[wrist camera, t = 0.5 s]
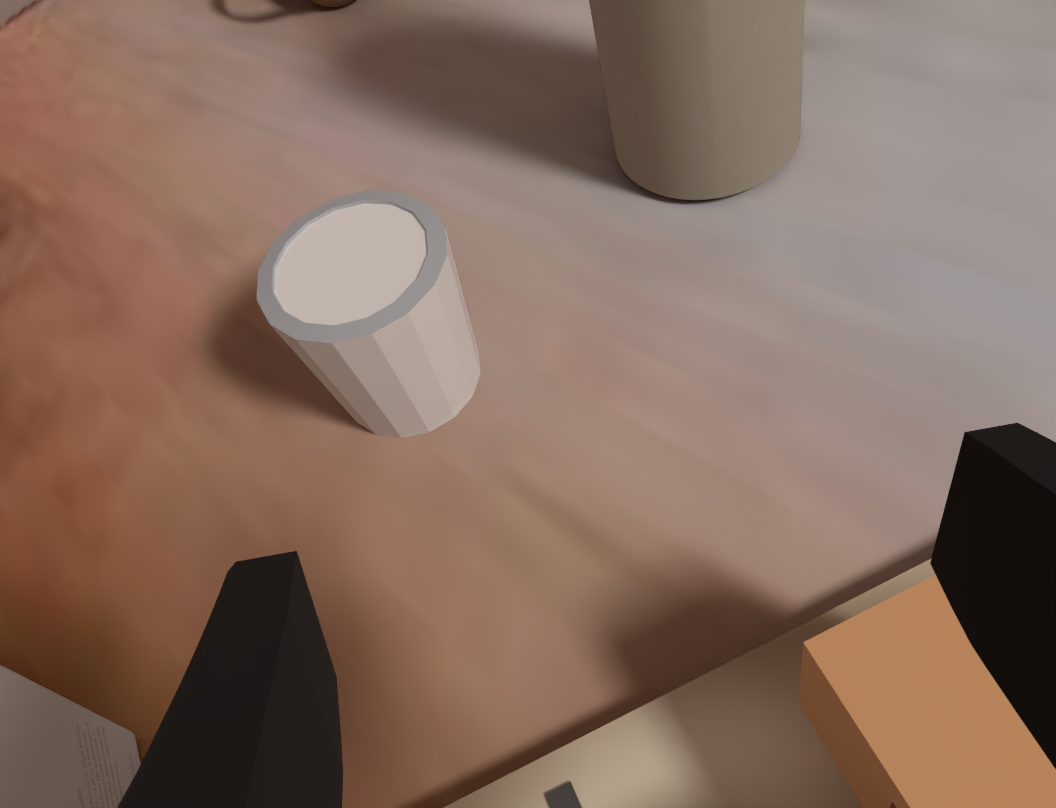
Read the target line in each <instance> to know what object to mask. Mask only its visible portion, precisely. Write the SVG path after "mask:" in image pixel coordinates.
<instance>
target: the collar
mask: <svg viewBox="0 0 1056 808" xmlns="http://www.w3.org/2000/svg"><path fill="white" fill-rule="evenodd" d="M799 705H800V706H801V708H802V710H803V711H804V713H805V714H806V716H807V718H808V719H809V721H810V723H811V724H812V726H813V727H814V729H815V731H816V732H817V734H818V736H819V737H820V739H821V740H822V742H823V744H824V745H825V747H826V749H827V750H828V752H829V753H830V755H831V757H832V758H833V760H834V762H835V763H836V765H837V766H838V768H839V770H840V771H841V773H842V775H843V776H844V778H845V779H846V781H847V783H848V784H849V786H850V788H851V789H852V791H853V792H854V794H855V796H856V797H857V799H858V801H859V802H860V804H861V805H862V807H863V808H1056V769H1055V768H1054V766H1053V765H1052V763H1051V762H1050V760H1049V759H1048V758H1047V756H1046V755H1045V753H1044V752H1043V750H1042V749H1041V747H1040V746H1039V745H1038V743H1037V742H1036V740H1035V739H1034V737H1033V736H1032V734H1031V733H1030V731H1029V730H1028V729H1027V727H1026V726H1025V724H1024V723H1023V721H1022V720H1021V718H1020V717H1019V715H1018V714H1017V713H1016V711H1015V710H1014V708H1013V707H1012V705H1011V704H1010V702H1009V701H1008V699H1007V698H1006V696H1005V695H1004V693H1003V692H1002V690H1001V689H1000V687H999V686H998V684H997V683H996V681H995V680H994V678H993V677H992V676H991V674H990V673H989V671H988V670H987V668H986V667H985V665H984V664H983V662H982V661H981V659H980V657H979V656H978V654H977V653H976V651H975V650H974V648H973V647H972V645H971V643H970V642H969V640H968V638H967V636H966V634H965V632H964V630H963V628H962V626H961V625H960V623H959V621H958V619H957V617H956V615H955V613H954V611H953V609H952V607H951V605H950V603H949V601H948V599H947V597H946V595H945V593H944V591H943V589H942V587H941V585H940V583H939V581H938V578H937V576H936V575H934V576H932V577H930V578H928V579H926V580H924V581H922V582H920V583H918V584H916V585H914V586H912V587H910V588H908V589H906V590H904V591H902V592H900V593H899V594H897V595H895V596H893V597H891V598H889V599H887V600H885V601H883V602H881V603H879V604H877V605H875V606H873V607H871V608H869V609H867V610H865V611H863V612H861V613H859V614H857V615H856V616H854V617H852V618H850V619H848V620H846V621H844V622H842V623H840V624H838V625H836V626H834V627H832V628H830V629H828V630H826V631H824V632H822V633H820V634H818V635H816V636H814V637H813V638H811V639H809V640H807V641H805V642H803V652H802V665H801V678H800V691H799Z"/></svg>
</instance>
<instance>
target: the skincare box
mask: <svg viewBox="0 0 1056 808" xmlns="http://www.w3.org/2000/svg"><path fill="white" fill-rule="evenodd" d="M140 765H141V764H140V759H139V754H138V749H137V744H136V739H135V735H134V733H132V732H131V731H129V730H128V729H126V728H124V727H121V726H119V725H118V724H116V723H114V722H112V721H110V720H108V719H106V718H104V717H102V716H100V715H98V714H96V713H94V712H92V711H90V710H89V709H87V708H85V707H83V706H81V705H79V704H77V703H75V702H72V701H71V700H69V699H67V698H65V697H63V696H61V695H59V694H57V693H55V692H53V691H51V690H49V689H47V688H45V687H43V686H41V685H39V684H37V683H35V682H33V681H31V680H29V679H27V678H25V677H23V676H22V675H20V674H18V673H16V672H14V671H12V670H10V669H8V668H6V667H4V666H1V665H0V808H117V807H118V805H119V803H120V802H121V800H122V798H123V796H124V794H125V793H126V791H127V789H128V787H129V785H130V784H131V782H132V780H133V778H134V776H135V774H136V773H137V771H138V769H139V767H140Z"/></svg>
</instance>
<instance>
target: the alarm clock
mask: <svg viewBox="0 0 1056 808" xmlns="http://www.w3.org/2000/svg"><path fill="white" fill-rule="evenodd" d="M310 1H312V2H314V3H317V4H319V5H322V6H326V7H339V6H344V5H348V4H349V3H351V2H352V1H354V0H310Z"/></svg>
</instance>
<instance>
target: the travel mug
mask: <svg viewBox="0 0 1056 808" xmlns="http://www.w3.org/2000/svg"><path fill="white" fill-rule="evenodd" d="M804 2H805V0H589V3H590V9H591V15H592V20H593V26H594V32H595V38H596V43H597V49H598V55H599V60H600V66H601V72H602V78H603V83H604V89H605V95H606V101H607V106H608V112H609V118H610V124H611V129H612V135H613V141H614V147H615V152H616V157H617V160H618V162H619V164H620V166H621V168H622V169H623V171H624V172H625V173H626V175H627V176H628V177H629V178H630V179H631V180H633V181H634V182H635V183H637V184H638V185H639V186H641V187H643V188H645V189H647V190H649V191H651V192H653V193H656V194H659V195H662V196H666V197H670V198H676V199H685V200H706V199H715V198H721V197H726V196H730V195H734V194H737V193H740V192H743V191H745V190H748V189H750V188H753V187H754V186H756V185H758V184H760V183H762V182H764V181H765V180H767V179H769V178H770V177H771V176H773V175H774V174H775V173H776V172H778V171H779V170H780V169H781V168H782V167H783V166H784V165H785V164H786V163H787V161H788V160H789V159H790V158H791V156H792V154H793V153H794V151H795V149H796V147H797V145H798V141H799V138H800V131H801V100H802V67H803V35H804Z"/></svg>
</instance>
